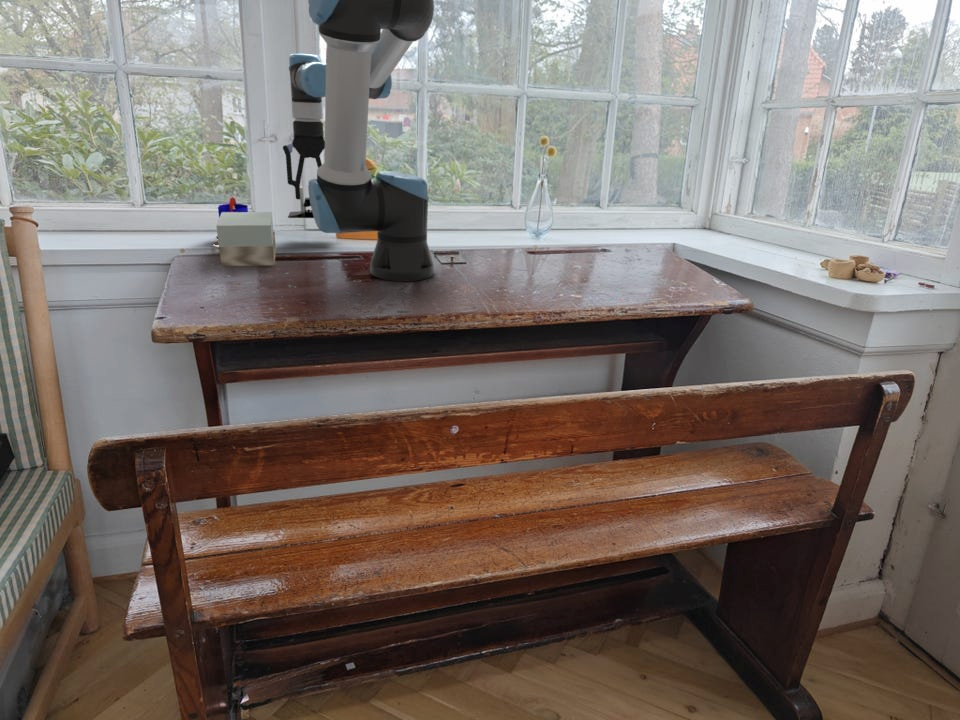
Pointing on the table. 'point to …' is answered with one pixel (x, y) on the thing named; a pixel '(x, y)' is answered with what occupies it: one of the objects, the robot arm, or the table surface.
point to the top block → (245, 229)
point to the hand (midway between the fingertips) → (312, 211)
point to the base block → (248, 255)
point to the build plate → (305, 214)
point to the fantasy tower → (231, 209)
